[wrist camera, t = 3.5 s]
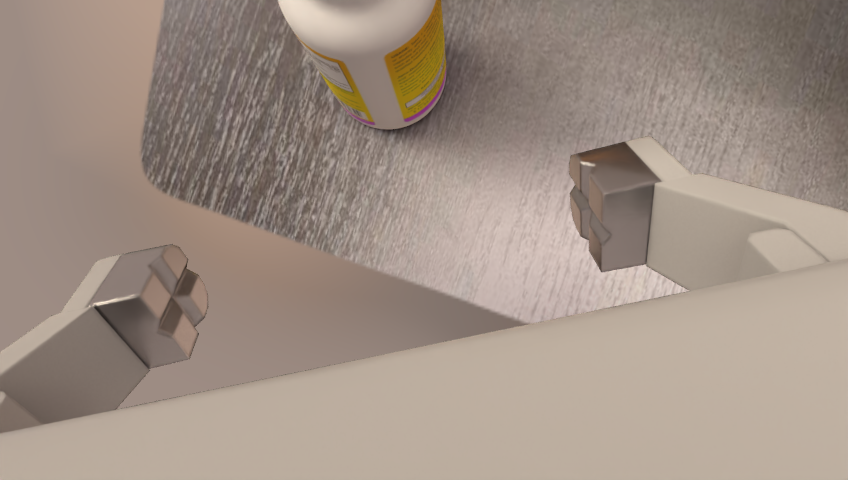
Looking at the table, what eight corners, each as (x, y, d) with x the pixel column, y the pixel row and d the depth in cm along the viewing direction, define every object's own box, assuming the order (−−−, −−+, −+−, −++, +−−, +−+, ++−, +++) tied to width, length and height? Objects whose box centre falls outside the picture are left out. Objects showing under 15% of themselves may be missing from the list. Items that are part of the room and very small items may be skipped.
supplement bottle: (447, 23, 29) (436, -191, 16) (446, 132, 28) (434, -5, 15) (335, 27, 30) (240, -178, 17) (332, 134, 29) (230, 3, 16)
